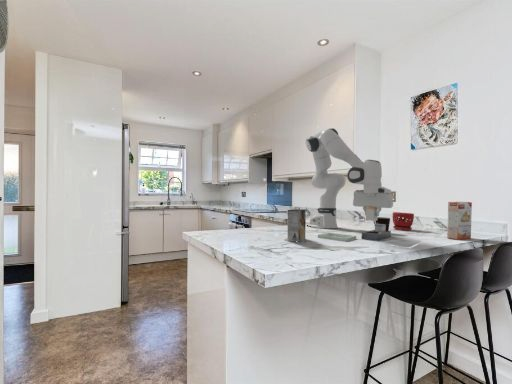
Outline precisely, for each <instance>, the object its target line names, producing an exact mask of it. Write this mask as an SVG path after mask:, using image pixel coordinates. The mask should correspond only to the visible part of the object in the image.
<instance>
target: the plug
mask: <svg viewBox="0 0 512 384" xmlns="http://www.w3.org/2000/svg"><path fill="white" fill-rule="evenodd" d="M377 211H378V210H377V207H366V215H365V216H366V217H365V220H366V221H369V222H370V221H371V222H372V221H373V222H374V221H376V220H377V217H379V216H375V213H377Z"/></svg>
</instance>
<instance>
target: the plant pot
mask: <svg viewBox="0 0 512 384" xmlns="http://www.w3.org/2000/svg"><path fill="white" fill-rule="evenodd" d="M414 218H415V214H414V213H412V212H399V211H397V212H396V211H395V212H394V211H393V212H392V223H393V226H392V228H394V230H397V231H411V230H412V229H413V227H412V225H413V224H414Z"/></svg>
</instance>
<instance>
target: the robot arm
mask: <svg viewBox="0 0 512 384" xmlns="http://www.w3.org/2000/svg"><path fill="white" fill-rule="evenodd" d="M305 145H306V148H307V150H308V151H309V152H311V153H312V158H313V162H314V165H315V173H314V175H313V176H312V179H311V184H312V187H314V188H316V189H320V190H321V189H322V190H324V189H326V190H325V192H324V193H323V194H322V195H321V196H320V197H319V207H318V208H316V211H317V212H316V214H314V215H313V216H311V217H310V220H309V223H308V224H306V226H307V225H308V226H307V227H309V226H311V227H310V228H316V229H338V228H339V227H338V223H337V208H336V206H337V197H338V194H339V191H340V190H341V189H342V188H344V186H345V184H346V181H347V180H348V181H349V182H350V183H351V184H354V185H363V189H356V190H355V191H353V200H352V205H353V206H354V207H361V208H362V210H363V212H364V216H366V207H377V210H378V211H377V213H375V216H378V217H380V213H381V211H382V209H383V208H384V209H385V208H386V209H392V208H393V206H394V197H393V195H392V190H391V189H390V188H386V187H385V186H382V175H383V172H382V163H381V162H380V161H379V160H374V159H366V160H364V161H362V159H360V158H359V157H358V156H357V154H356V153H354V151H353V150H352V149H351V148H350V147H349V146H348V145H347V144H346V142H345V141H344V140H343V139H342V138H341V137H340V135H339V132H338V131H337V129H336V128H327V129H325V130H322V131H319V132H317V133H314V134H313V135H310V136H308V137H307V138H306V140H305ZM330 156H331V157H332V158H334V159H337V160H341V161H343V162H346V163H347V164H348V165H350V166H351V167H350V168H349V170H348V171H347V174H346V175H347V176H346V177H347V180H346V177H345V175H344V174H342V173H337V172H333V173H328V170H329V169H330V168H331V167H332V159H331V157H330Z"/></svg>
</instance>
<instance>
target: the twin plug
mask: <svg viewBox="0 0 512 384" xmlns="http://www.w3.org/2000/svg"><path fill="white" fill-rule="evenodd" d="M374 230H375V231H379V232H385V231H386V224H376V223H375V224H374Z"/></svg>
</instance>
